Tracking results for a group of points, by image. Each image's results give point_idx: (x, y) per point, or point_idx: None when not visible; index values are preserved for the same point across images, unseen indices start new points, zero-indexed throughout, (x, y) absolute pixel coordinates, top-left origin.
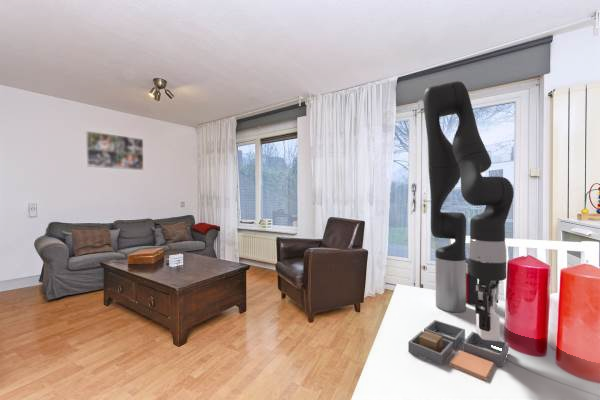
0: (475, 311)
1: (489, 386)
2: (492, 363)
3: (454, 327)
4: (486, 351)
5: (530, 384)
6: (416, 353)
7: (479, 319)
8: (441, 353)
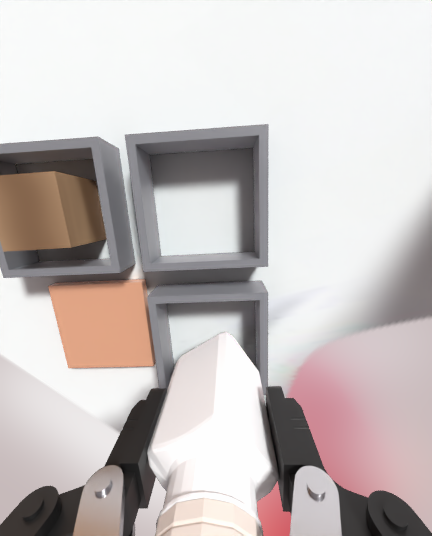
0: (30, 499)
1: (61, 370)
2: (145, 364)
3: (259, 226)
4: (157, 360)
5: None
6: None
7: (135, 428)
8: (11, 273)
